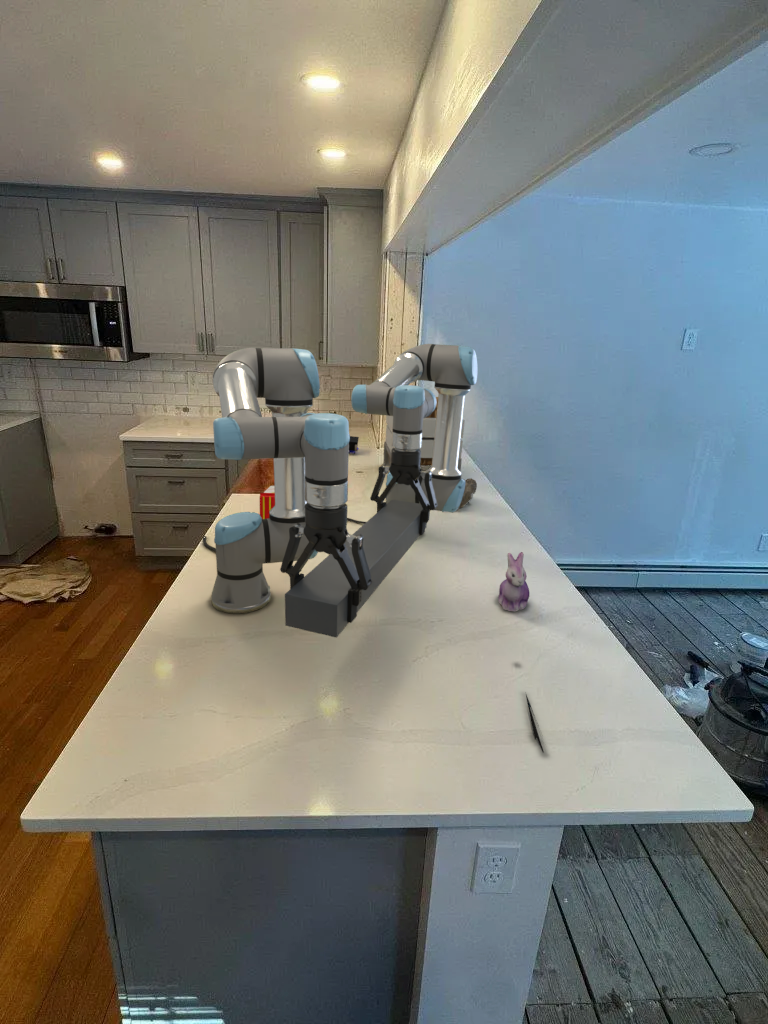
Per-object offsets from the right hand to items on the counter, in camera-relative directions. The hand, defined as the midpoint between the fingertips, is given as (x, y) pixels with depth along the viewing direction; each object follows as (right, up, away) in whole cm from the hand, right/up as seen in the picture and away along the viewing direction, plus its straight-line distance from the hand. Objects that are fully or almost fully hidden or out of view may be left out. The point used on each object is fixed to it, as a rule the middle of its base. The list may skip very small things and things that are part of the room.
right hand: (401, 529), depth 151 cm
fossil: (+26, +8, +84) cm, 88 cm away
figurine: (+31, -21, +4) cm, 37 cm away
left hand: (-16, -14, -43) cm, 48 cm away
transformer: (+12, +24, +124) cm, 127 cm away
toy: (-44, +2, +58) cm, 73 cm away
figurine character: (-22, +37, +158) cm, 164 cm away
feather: (+24, -35, -36) cm, 55 cm away
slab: (-8, -8, -21) cm, 24 cm away
